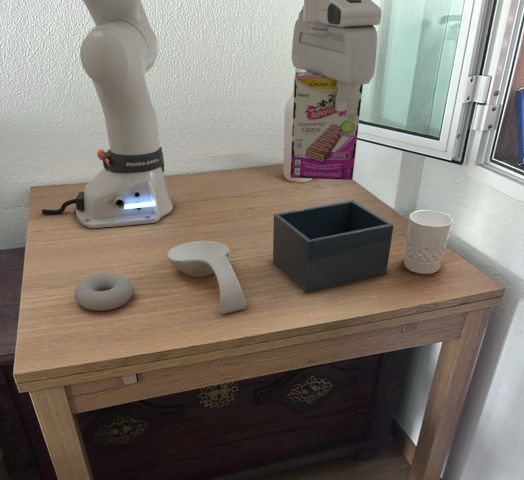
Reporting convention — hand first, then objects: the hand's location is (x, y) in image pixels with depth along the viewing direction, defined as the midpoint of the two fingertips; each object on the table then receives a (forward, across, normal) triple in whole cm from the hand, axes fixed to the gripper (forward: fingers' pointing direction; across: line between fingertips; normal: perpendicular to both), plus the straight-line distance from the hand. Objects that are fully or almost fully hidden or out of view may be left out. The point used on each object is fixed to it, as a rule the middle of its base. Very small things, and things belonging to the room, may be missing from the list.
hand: (326, 105), depth 90 cm
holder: (+29, +3, +1) cm, 29 cm away
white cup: (+29, +10, +18) cm, 36 cm away
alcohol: (+29, -47, +21) cm, 60 cm away
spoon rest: (+29, -1, -22) cm, 37 cm away
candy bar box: (+12, 0, 0) cm, 12 cm away
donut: (+29, -3, -41) cm, 50 cm away
